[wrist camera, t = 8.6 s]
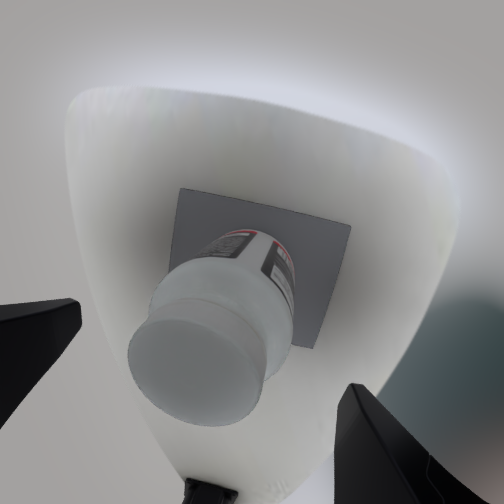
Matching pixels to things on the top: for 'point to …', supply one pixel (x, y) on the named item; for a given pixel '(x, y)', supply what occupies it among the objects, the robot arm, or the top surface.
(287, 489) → the top surface
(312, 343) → the slate mat
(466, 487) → the robot arm
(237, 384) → the pill bottle
